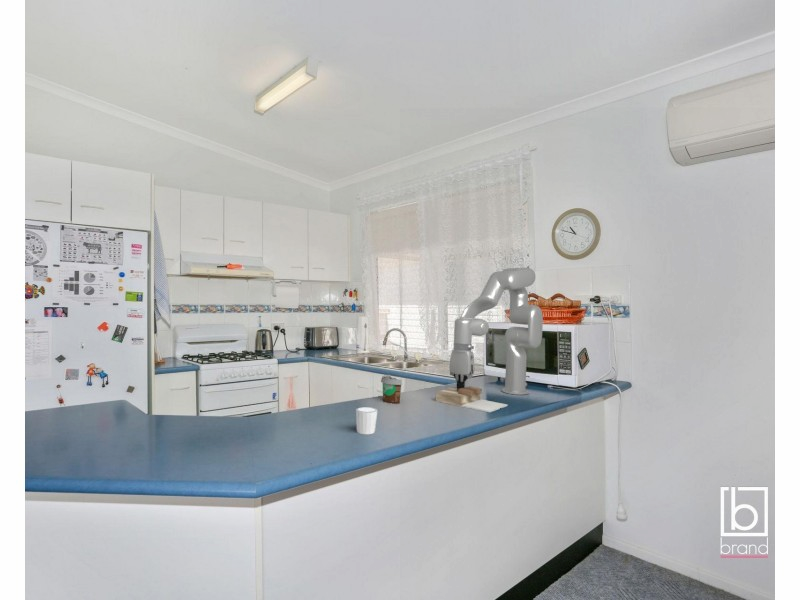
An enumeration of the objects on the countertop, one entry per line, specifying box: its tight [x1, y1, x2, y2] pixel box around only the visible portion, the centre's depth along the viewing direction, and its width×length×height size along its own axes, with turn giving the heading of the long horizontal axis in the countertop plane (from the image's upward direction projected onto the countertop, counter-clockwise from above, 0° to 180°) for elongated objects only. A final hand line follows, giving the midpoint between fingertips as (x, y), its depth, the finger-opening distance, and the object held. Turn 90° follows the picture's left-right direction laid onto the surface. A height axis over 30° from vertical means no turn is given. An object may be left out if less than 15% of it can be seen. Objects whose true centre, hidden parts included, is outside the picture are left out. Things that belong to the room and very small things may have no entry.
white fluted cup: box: [355, 406, 379, 435], centre depth 139 cm, size 7×7×7 cm
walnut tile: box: [458, 386, 483, 397], centre depth 185 cm, size 9×6×2 cm, turn 141°
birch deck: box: [435, 386, 481, 407], centre depth 188 cm, size 16×12×4 cm
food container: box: [380, 374, 403, 405], centre depth 181 cm, size 12×6×10 cm, turn 25°
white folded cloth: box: [461, 398, 508, 413], centre depth 180 cm, size 16×12×1 cm
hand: (460, 390), depth 188 cm, fingers closed
